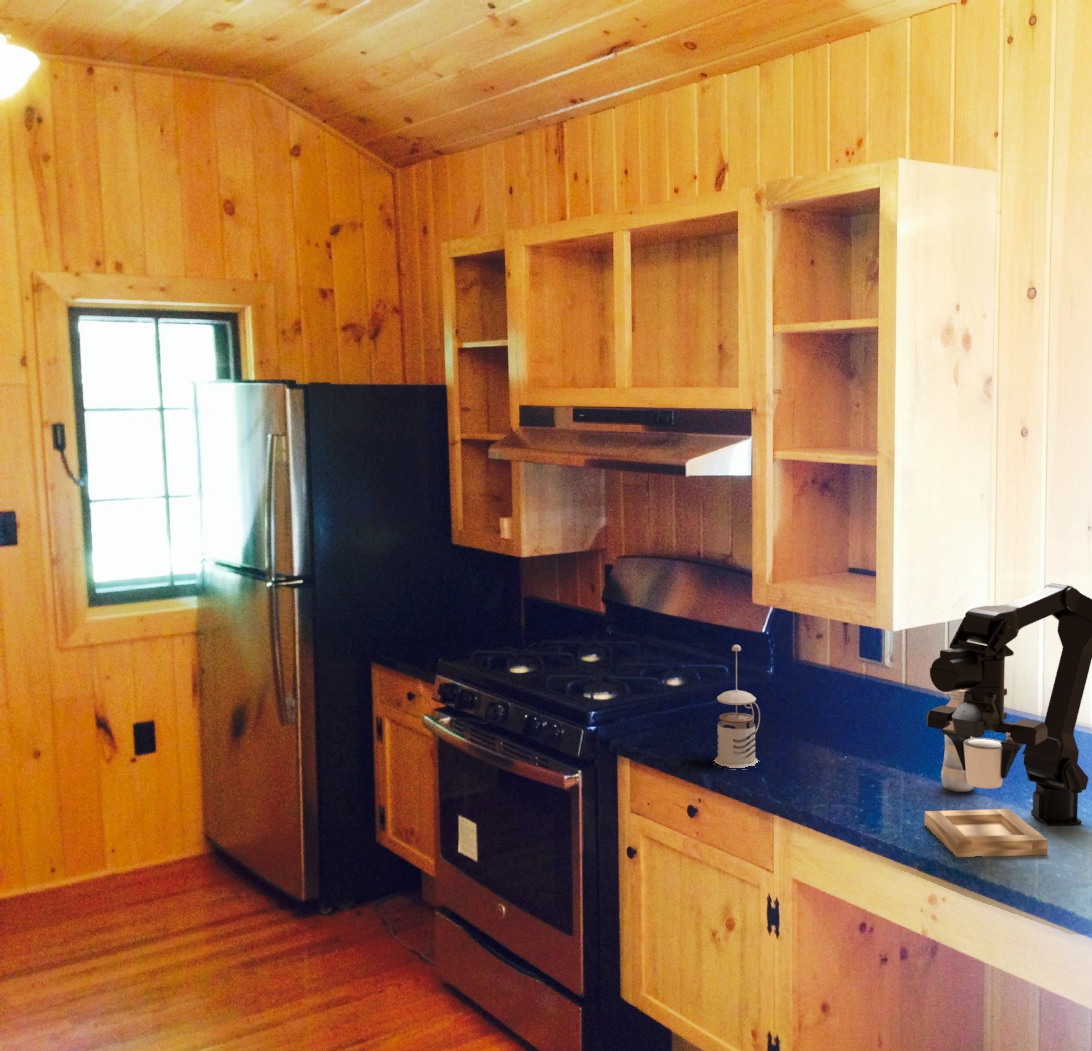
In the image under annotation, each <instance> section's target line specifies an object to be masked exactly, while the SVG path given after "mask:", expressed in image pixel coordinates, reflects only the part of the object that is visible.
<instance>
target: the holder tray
mask: <svg viewBox="0 0 1092 1051" xmlns="http://www.w3.org/2000/svg"><path fill="white" fill-rule="evenodd" d="M924 826H925V827H926V826H927V827H926V828H927V829H928V828H929V829H928V830H929V831H930V830H931V831H930V832H931V833H932V834H933V835H934V836H935V835H936V836H935V837H936V838H937V839H938V840H939V839H940V840H939V841H940V842H941V841H942V842H941V843H942V844H943V843H944V844H943V845H944V846H945V847H946V848H947V849H948V850H949V851H950V852H951V853H952V852H953V853H952V854H953V855H954V856H955V857H956V858H973V857H975V856H982V857H1008V856H1009V857H1011V856H1040V855H1042V856H1044V855H1046V856H1047V855H1048V842H1049V841H1048V838H1046V837H1045V836H1044V835H1042V834H1041V832H1038V831H1037V830H1036V829H1034V828H1033V827H1032V826H1031V825H1029V823H1027V822H1026V821H1025V820H1023V819H1022V818H1021V817H1020V816H1018V815H1017V814H1016V813H1014V811H1012V810H1011V809H1010V808H1001V809H1000V808H998V809H997V808H991V809H969V810H968V809H965V810H963V809H961V810H960V809H959V810H927V811H926V810H925V811H924ZM975 858H976V857H975Z"/></svg>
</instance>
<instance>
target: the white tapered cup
mask: <svg viewBox="0 0 1092 1051" xmlns="http://www.w3.org/2000/svg"><path fill="white" fill-rule="evenodd" d="M1002 741H1003V740H998V739H993V738H988V737H979V738H971V739H967V740H965V741H964V742H963V743H964V755H965V767H966V779H967V783H968V784H970V785H972V786H975V787H976V788H980V789H996V788H997V789H998V788H1000V787H1002V785H1003V781H1004V779H1002V778H1001V763H1002V752H1003V749H1002V746H1001V743H1000V742H1002ZM975 787H974V788H975Z"/></svg>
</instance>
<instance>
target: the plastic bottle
mask: <svg viewBox="0 0 1092 1051" xmlns="http://www.w3.org/2000/svg"><path fill="white" fill-rule="evenodd" d="M966 690H968V688H966V689H961V690H956V691H950V692H949V698H950V700H949V702H948V703H947V704H946V705H945V706H949V707H955V708H958V707H959V706H960V705H961V704H962V703H963V700H964V694H965V691H966ZM971 738H974V737H972V736H971ZM943 754H944V756H943V763H942V767H941V772H940V778H941V784H942V785H943V788H944V789H946V790H948V791H951V792H956V793H966V792H971V791H972V790H974V788H975V786H972V785H970V784H968V783H967V779H966V771H964V770H963V767H962V764H961V762H960V759H959V756H958V753H957V751H956V748H955V746H954V744H953V742H952V740H951V739H950V738H949V737H948V736H947V735H945V734H944V753H943Z"/></svg>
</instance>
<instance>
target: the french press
mask: <svg viewBox="0 0 1092 1051" xmlns="http://www.w3.org/2000/svg"><path fill="white" fill-rule="evenodd" d="M741 650H742V647H741V646H740V645H739V644H734V645H732V647H731V651H733V652H735V689H734V690H728V691H723V692H722V693H721V694H719V695H718V696H717V697H716V699H717V702H719V703H721V704H724V705H729V706H730V705H731V706H735V712H733V711H732V712H725V713H722V714H720V715H719V716H718V718H719V720H720V721H718V722H717V756H716V757H715V758H714V759H715V760H714V759H713V761H715V763H717V764H719V765H721V766H727V767H729V768H745V767H748V766H755V764H756V763H758V761H759V760H758V758H757V757H756V733H757V731H758V729H759V726H760V722H761V712H760V708H759V705H758V704H757V703H756V700H757V697H755V696H754V695H753V694H752V693H750V692H747V691H746V690H739V689H738V652H740V651H741ZM753 704H754V705H755V706H756V708H757V711H758V723H757V726H756V723H754V720H755V712H754V708H753ZM747 705H749V706H747ZM738 706H744V707H745V708H746V709H751V710H752V714H748V713H745V712H744V713H743V712H742V713H741V712H738ZM747 723H749V728H748V727H747ZM726 725H727V726H732V727H734V728H732V727H724V726H726ZM748 737H749V738H748ZM747 738H748V739H747Z"/></svg>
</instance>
